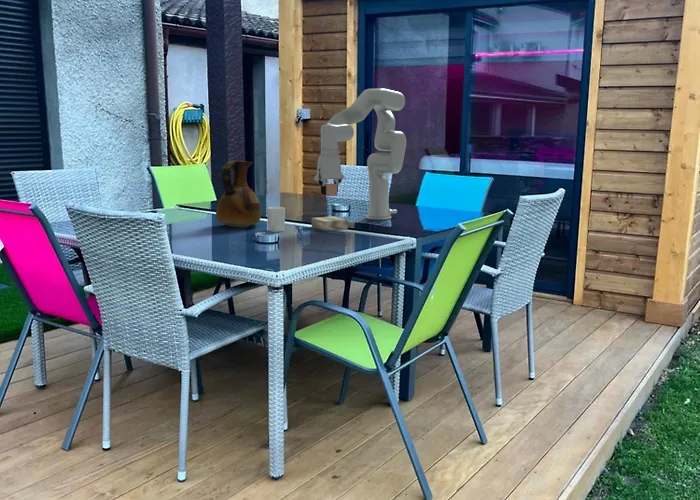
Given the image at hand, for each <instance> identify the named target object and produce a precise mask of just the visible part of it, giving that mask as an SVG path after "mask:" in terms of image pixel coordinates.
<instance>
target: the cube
mask: <svg viewBox="0 0 700 500" xmlns="http://www.w3.org/2000/svg"><path fill="white" fill-rule="evenodd" d="M325 186H326V195H323V196H325V197H335V196H336V197H337V196H338V192H337V184H334V182H331V183H330V182H329V183H327V182H326V183H325Z"/></svg>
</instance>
